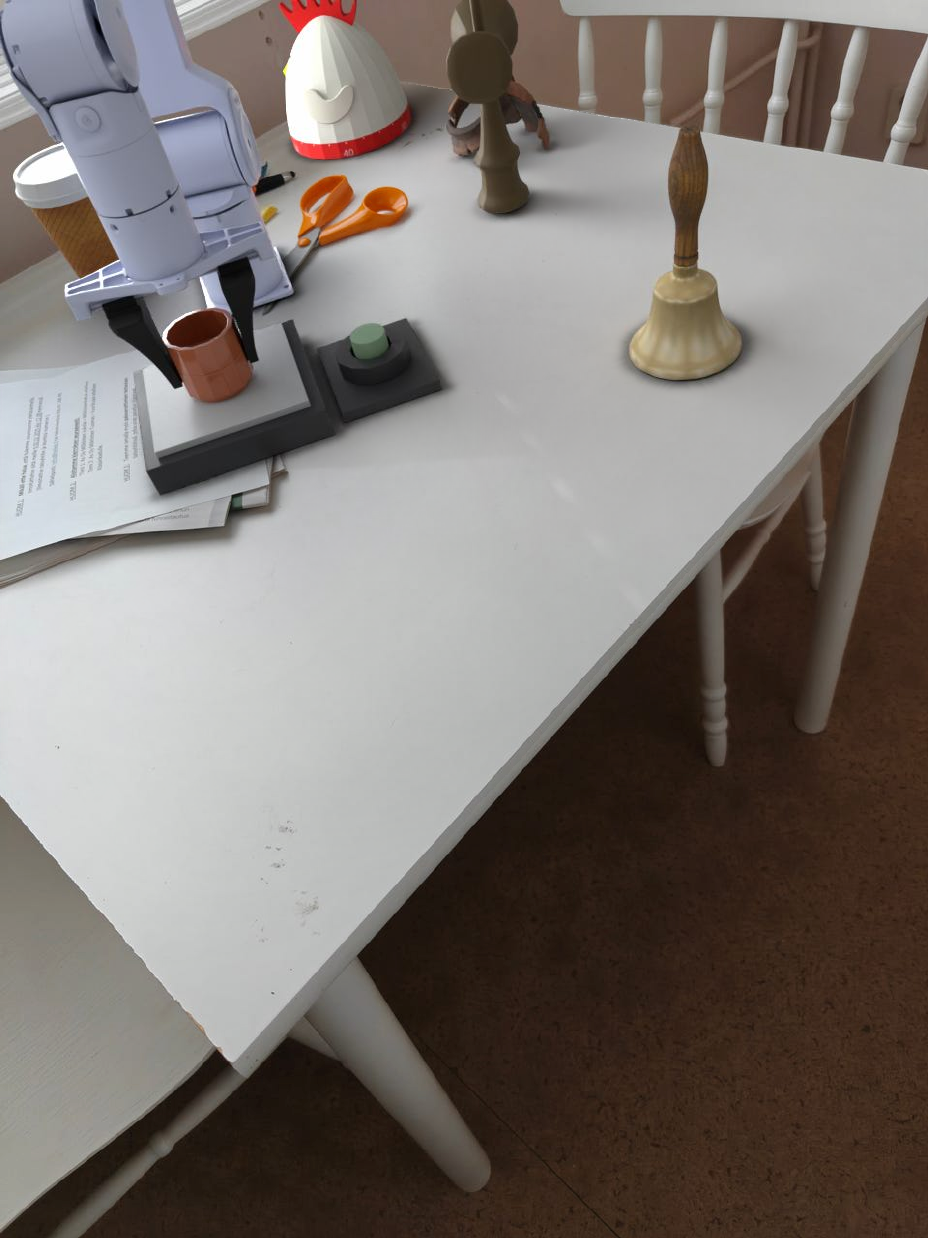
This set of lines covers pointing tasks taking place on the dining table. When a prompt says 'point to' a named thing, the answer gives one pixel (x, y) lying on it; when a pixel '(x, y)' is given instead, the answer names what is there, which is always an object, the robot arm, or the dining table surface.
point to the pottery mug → (514, 108)
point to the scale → (231, 415)
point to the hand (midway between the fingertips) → (214, 368)
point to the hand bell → (686, 285)
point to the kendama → (488, 94)
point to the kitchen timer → (339, 85)
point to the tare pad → (378, 373)
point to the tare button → (369, 341)
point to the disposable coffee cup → (64, 209)
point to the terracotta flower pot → (208, 354)
